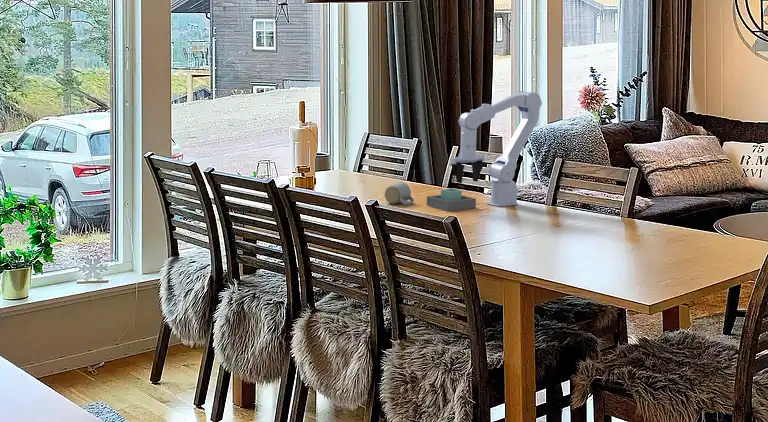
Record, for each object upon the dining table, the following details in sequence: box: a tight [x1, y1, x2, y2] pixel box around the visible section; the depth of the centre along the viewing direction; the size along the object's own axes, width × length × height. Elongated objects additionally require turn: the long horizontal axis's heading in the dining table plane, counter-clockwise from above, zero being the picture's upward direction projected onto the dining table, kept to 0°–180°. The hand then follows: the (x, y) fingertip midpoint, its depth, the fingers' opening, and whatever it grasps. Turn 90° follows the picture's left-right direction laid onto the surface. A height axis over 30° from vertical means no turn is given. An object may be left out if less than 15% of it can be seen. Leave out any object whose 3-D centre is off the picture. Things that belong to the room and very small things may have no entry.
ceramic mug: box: [384, 181, 415, 206], centre depth 357 cm, size 11×8×8 cm
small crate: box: [440, 187, 463, 201], centre depth 351 cm, size 5×5×6 cm
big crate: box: [426, 194, 477, 212], centre depth 352 cm, size 13×13×4 cm
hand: (467, 181), depth 351 cm, fingers open, 7 cm apart
